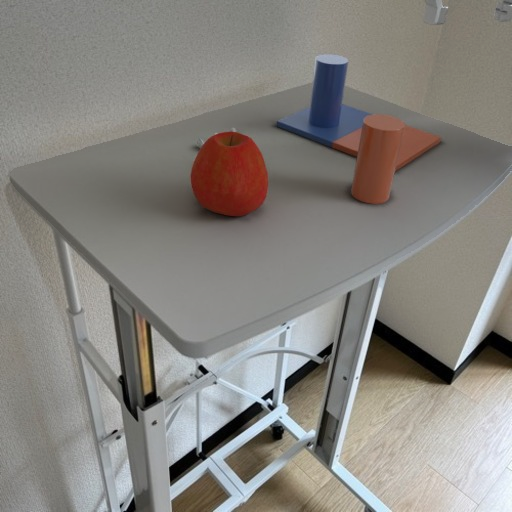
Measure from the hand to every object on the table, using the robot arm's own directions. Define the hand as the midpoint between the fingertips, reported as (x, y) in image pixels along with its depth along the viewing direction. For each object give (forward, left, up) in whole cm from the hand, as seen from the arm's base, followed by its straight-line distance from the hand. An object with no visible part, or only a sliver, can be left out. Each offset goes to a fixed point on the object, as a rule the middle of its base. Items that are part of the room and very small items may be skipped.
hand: (469, 22), depth 59 cm
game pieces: (+36, +1, -26) cm, 44 cm away
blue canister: (+28, -18, -25) cm, 41 cm away
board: (+22, -20, -26) cm, 39 cm away
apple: (+21, +14, -26) cm, 36 cm away
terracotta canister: (+9, -3, -26) cm, 27 cm away
